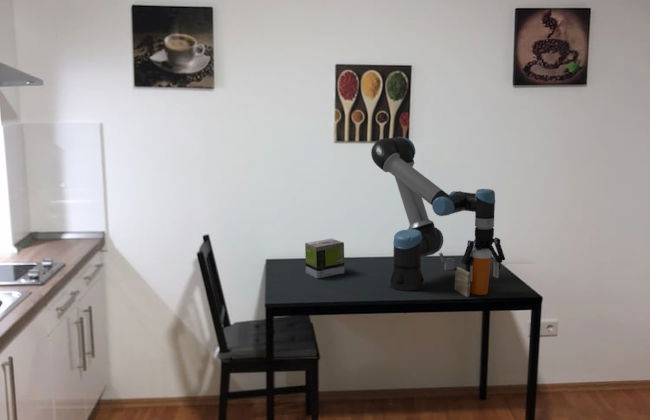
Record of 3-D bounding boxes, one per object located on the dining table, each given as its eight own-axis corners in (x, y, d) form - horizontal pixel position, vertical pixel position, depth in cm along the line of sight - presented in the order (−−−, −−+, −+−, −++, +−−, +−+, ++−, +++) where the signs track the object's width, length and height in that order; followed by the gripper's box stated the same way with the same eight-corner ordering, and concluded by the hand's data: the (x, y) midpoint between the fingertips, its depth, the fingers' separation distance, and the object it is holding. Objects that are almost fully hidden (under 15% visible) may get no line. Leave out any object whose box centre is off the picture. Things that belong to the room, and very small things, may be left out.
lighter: (453, 268, 300) (453, 252, 299) (454, 269, 299) (454, 252, 297) (438, 268, 300) (438, 252, 298) (439, 269, 298) (439, 253, 297)
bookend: (466, 296, 260) (468, 273, 258) (454, 289, 270) (455, 266, 268) (497, 293, 265) (498, 270, 263) (483, 286, 274) (485, 263, 272)
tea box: (332, 268, 300) (332, 237, 297) (344, 273, 292) (345, 242, 289) (304, 273, 292) (304, 241, 289) (316, 279, 284) (316, 246, 281)
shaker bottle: (485, 297, 260) (488, 249, 256) (464, 293, 265) (467, 246, 261) (492, 291, 268) (495, 244, 264) (471, 287, 272) (474, 241, 268)
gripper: (463, 232, 254) (461, 284, 258) (515, 226, 261) (513, 278, 266) (453, 227, 261) (452, 279, 266) (504, 222, 268) (502, 273, 273)
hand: (482, 278), depth 266 cm, fingers open, 12 cm apart
